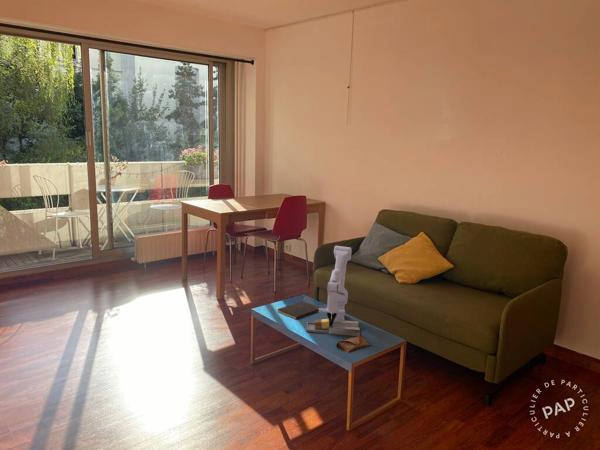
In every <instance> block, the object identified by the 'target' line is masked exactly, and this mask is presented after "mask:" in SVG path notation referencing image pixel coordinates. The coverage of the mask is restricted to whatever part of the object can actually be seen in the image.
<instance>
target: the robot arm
mask: <svg viewBox="0 0 600 450" xmlns="http://www.w3.org/2000/svg"><path fill="white" fill-rule="evenodd" d="M333 255H334V259H335V265H334V269H333V270H331V276H330V279H329V281H328V282H327V287H326V291H327V301H326V303H327V305H326V307H325V308H321V307H320V308H319V312H318V313H319V314H321V313H325V314H326V315H327V316H326V317H327V319H329V323H330V326H332V324H333V321H334V320H344V321H346V320H345V314H346V311H345V305H346V304H347V303H348V300H349V299H348V298H349V296H348V295H349V294H348V293H349V292H348V290H347V289H346V288H345V281H346V272H347V263H348V262H349V261H351V260H352V247H351V246H350V247H348V246H342V245H341V246H340V245H335V246H334V248H333Z"/></svg>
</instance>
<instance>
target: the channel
mask: <svg viewBox="0 0 600 450" xmlns="http://www.w3.org/2000/svg"><path fill="white" fill-rule="evenodd" d="M327 334H328V335H339V336H341V335H342V336H353V337H357V336H360V335H361V330H360V327H359V321H354V320H334V321H333V324H332V326H330V323H329V328H328V333H327Z"/></svg>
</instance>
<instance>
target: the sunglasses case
mask: <svg viewBox="0 0 600 450" xmlns="http://www.w3.org/2000/svg"><path fill="white" fill-rule="evenodd" d="M370 346H371V344H369V343H368V342H367V340H366V339H365V338H364V337H363V336H362V335H361V334H359V336H353V337H350V338H347V339H344V340H339V341H338V342H337V343H336V348H337V349H338V350H339V351H343V352H344V353H346V354H349V353H351V352H354V351H357V350H360V349H362V348H365V347H366V348H367V347H370Z"/></svg>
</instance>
